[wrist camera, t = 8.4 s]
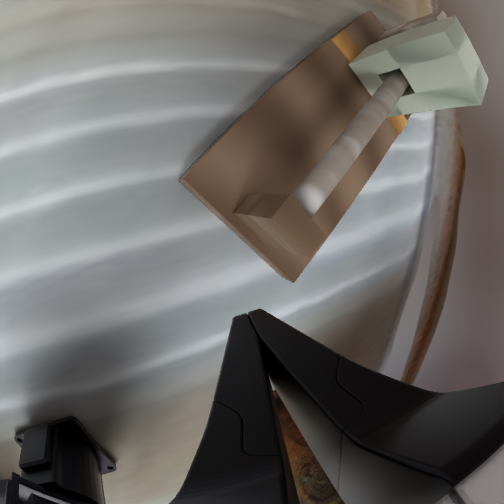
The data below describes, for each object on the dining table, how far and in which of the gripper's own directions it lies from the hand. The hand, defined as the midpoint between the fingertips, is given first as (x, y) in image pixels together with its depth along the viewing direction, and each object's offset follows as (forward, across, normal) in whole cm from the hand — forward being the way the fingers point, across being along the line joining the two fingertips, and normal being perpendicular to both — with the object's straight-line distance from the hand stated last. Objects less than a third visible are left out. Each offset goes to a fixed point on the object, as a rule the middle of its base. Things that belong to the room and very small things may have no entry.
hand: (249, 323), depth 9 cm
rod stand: (+15, -12, -4) cm, 19 cm away
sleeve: (+14, -16, -7) cm, 23 cm away
